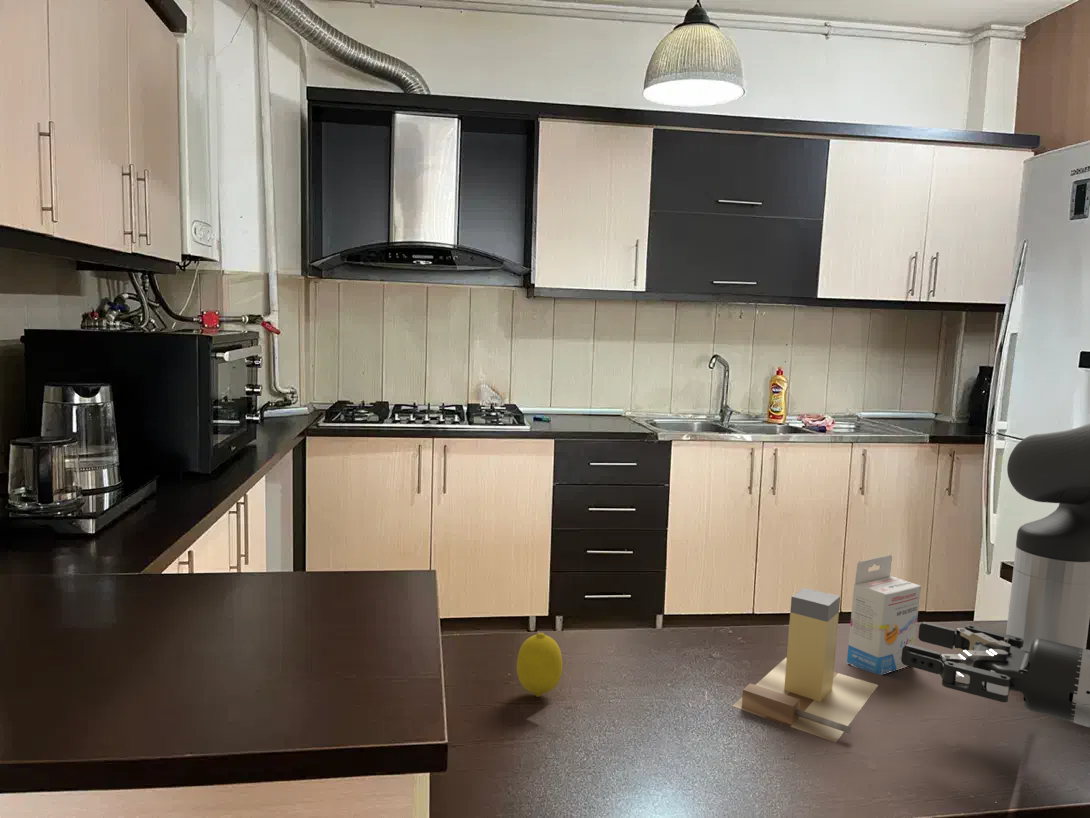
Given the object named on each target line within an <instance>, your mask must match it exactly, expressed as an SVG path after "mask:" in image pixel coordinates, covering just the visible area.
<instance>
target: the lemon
mask: <svg viewBox="0 0 1090 818" xmlns="http://www.w3.org/2000/svg"><path fill="white" fill-rule="evenodd" d="M517 654H518V655H517V659H516V673H517V677H518V680H519V682H520V684H521V686H522V687H523V688H524V689H525V690H526V691H528V692H529V693H532V694H533V695H535V697H538V698H540V697H541V696H543V695H544V694H547V693H549V692H551V691H552V690H554V689H555V687H557V685H558V684H559V682H560V679H561V678H562V677H561V676H562V672H563V657H562V651H561V648H560V646H559V644H558V643H557V642H556V640H555V639H554V638H552V637H551V636H549V635H546V634H545V633H544V632H538V633H537V634H534V635H532V636H530V637H528V638H527V639H525V640H524V642H523V643H522V645H521V646H520V648H519V651H518V653H517Z"/></svg>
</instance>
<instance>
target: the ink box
mask: <svg viewBox="0 0 1090 818" xmlns="http://www.w3.org/2000/svg"><path fill="white" fill-rule="evenodd" d="M892 562H893V556H892V555H891V554H887V555H884V556H879V557H878V556H877V557H873V558H870V559H866V560H861V561H858V563H857V566H856V572H855V581H854V584H853V593H852V604H851V614H850V624H849V635H848V644H847V645H848V646H847V655H846V656H847V657H846V663H847V662H848V663H850V664H853V665H854V666H856V667H858V668H861V669H860V670H862V669H863V671H866V672H870V673H873V674H877V675H880V676H882V675H881V674H884V673H887V672H889V671H894V670H896V669H899V668H901V667H905V666H906V665H904V664H903V663H902V661H901V658H902V648H903V647H904V645H906V644H910V645H914V646H916V645H915V644H916V633H917V625H918V615H919V607H920V598H921V597H920V596H921V589H922V586H921V585H920V584H917V583H913V582H910V581H908V580H905V579H901V578H898V577H894V576H893V575H891V571H892ZM873 566H876V567H877V566H879V568H878V569H873V570H869V569H870V568H872V567H873ZM858 668H857V669H858Z"/></svg>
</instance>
